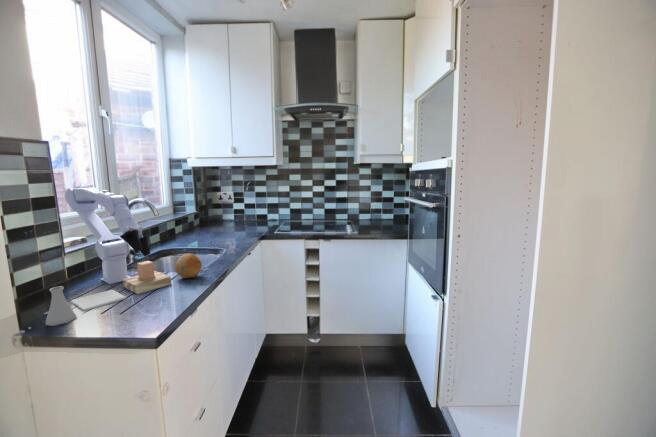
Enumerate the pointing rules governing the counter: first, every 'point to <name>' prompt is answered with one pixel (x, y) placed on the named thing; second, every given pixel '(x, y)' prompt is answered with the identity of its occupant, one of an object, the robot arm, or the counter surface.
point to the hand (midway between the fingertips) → (143, 252)
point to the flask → (59, 308)
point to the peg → (145, 270)
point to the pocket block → (146, 283)
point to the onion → (188, 266)
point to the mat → (98, 300)
